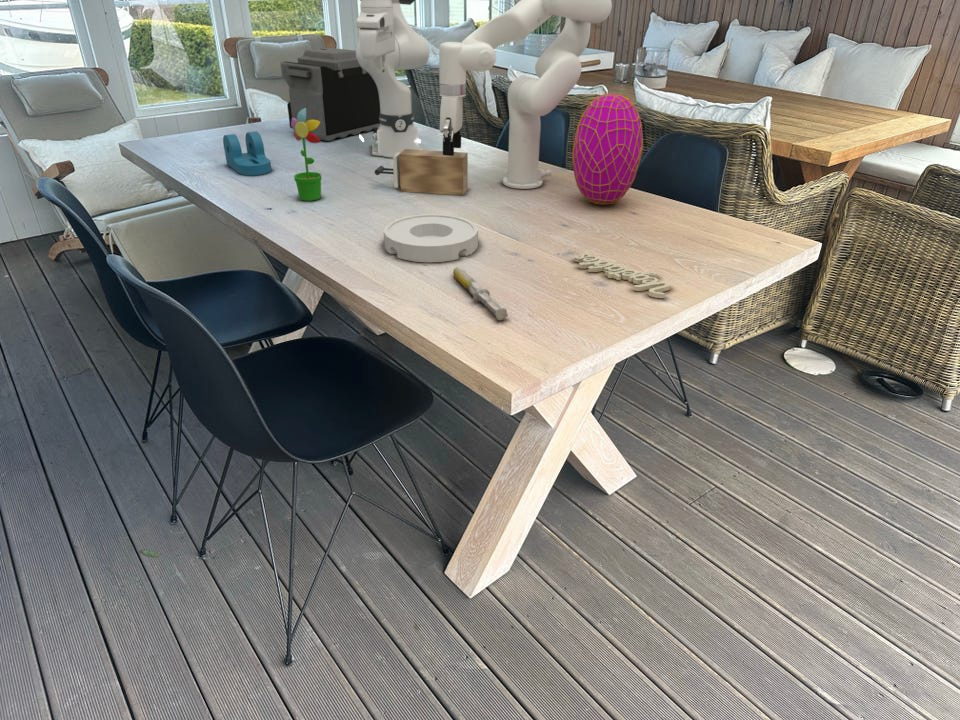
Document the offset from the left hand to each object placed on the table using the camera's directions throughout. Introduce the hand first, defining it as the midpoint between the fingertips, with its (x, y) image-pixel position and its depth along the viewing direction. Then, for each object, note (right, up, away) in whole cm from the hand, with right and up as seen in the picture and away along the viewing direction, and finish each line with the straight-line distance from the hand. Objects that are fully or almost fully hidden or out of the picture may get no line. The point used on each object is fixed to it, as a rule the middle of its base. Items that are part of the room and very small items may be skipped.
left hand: (380, 72), depth 196 cm
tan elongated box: (+14, -30, +14) cm, 36 cm away
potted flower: (-22, -34, +6) cm, 41 cm away
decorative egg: (+64, -36, +5) cm, 74 cm away
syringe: (+28, -69, -51) cm, 90 cm away
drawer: (+9, -29, +15) cm, 33 cm away
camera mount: (-48, -18, +33) cm, 61 cm away
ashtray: (+16, -54, -25) cm, 62 cm away
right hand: (+20, -20, +7) cm, 29 cm away
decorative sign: (+61, -63, -40) cm, 97 cm away
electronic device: (-29, +11, +83) cm, 88 cm away
